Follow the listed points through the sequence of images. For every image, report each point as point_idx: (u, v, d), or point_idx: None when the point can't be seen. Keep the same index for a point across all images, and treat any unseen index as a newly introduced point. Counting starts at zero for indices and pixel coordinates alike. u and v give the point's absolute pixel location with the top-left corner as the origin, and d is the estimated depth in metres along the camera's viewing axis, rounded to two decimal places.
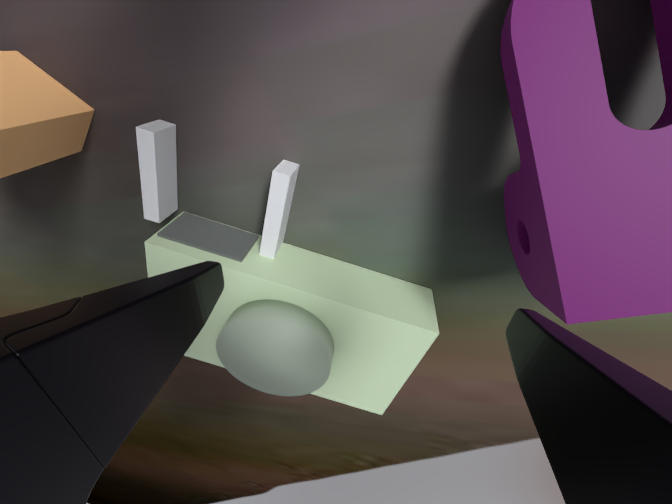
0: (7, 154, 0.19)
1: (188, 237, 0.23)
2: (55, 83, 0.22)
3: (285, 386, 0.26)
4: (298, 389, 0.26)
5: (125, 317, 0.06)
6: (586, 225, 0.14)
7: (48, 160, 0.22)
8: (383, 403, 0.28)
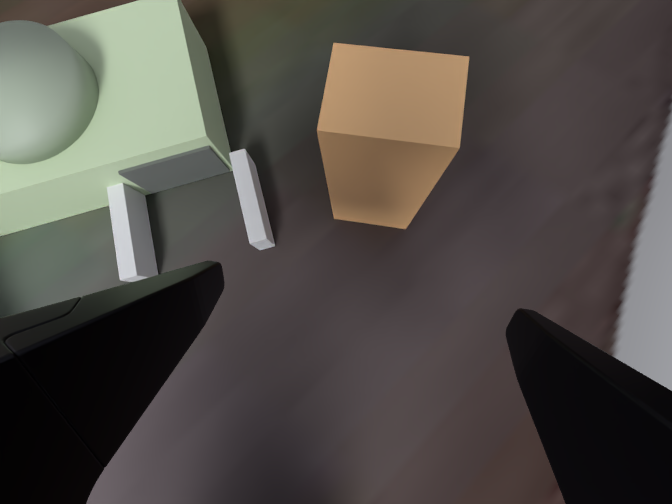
0: None
1: (185, 160, 0.22)
2: (367, 222, 0.23)
3: None
4: None
5: (125, 317, 0.06)
6: None
7: None
8: None
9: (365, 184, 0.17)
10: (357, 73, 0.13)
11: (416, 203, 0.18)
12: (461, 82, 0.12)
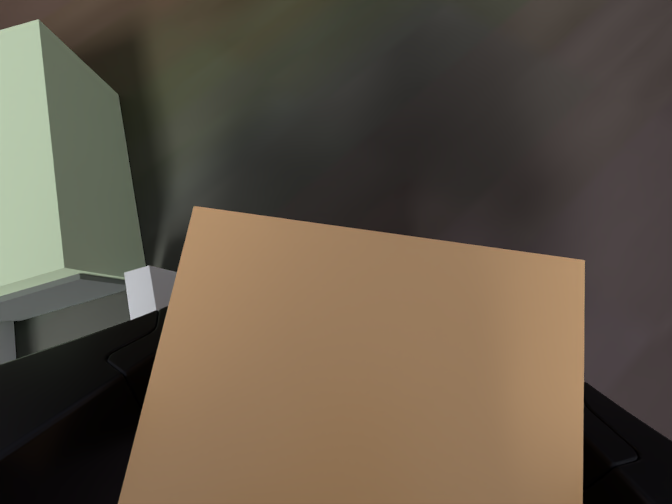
0: None
1: (47, 293, 0.13)
2: None
3: None
4: None
5: None
6: None
7: None
8: None
9: None
10: (252, 309, 0.04)
11: None
12: (568, 350, 0.04)
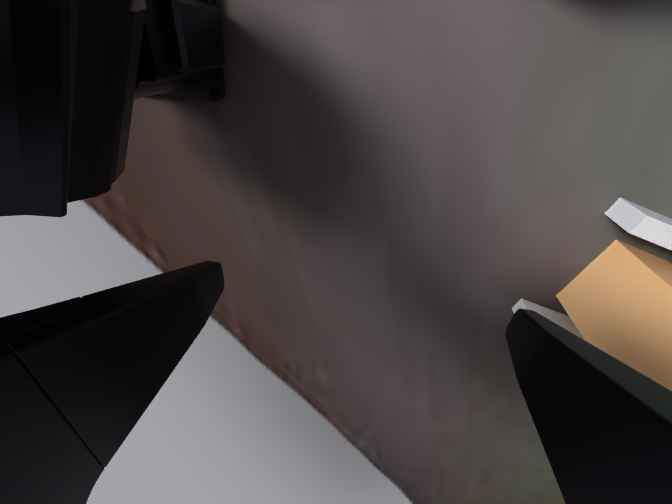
0: None
1: None
2: (588, 270, 0.22)
3: None
4: None
5: (125, 317, 0.06)
6: None
7: None
8: None
9: (667, 346, 0.16)
10: None
11: None
12: None
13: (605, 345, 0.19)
